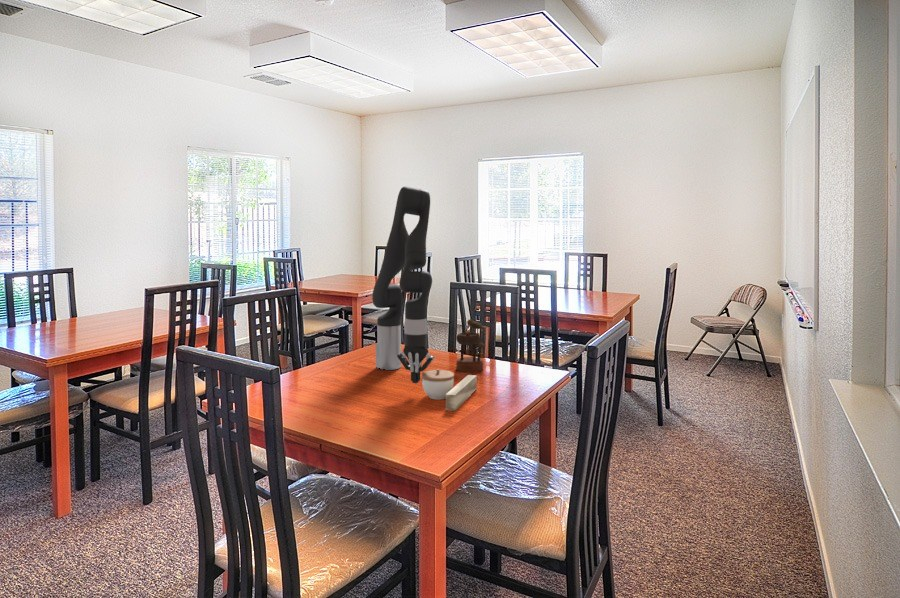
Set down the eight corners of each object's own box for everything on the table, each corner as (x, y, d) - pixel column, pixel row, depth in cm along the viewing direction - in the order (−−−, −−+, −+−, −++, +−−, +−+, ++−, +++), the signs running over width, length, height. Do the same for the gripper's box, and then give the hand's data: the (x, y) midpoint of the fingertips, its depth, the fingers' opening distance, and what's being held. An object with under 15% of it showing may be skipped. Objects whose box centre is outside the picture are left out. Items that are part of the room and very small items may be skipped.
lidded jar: (421, 392, 196) (421, 365, 194) (452, 391, 196) (452, 364, 195) (422, 402, 185) (422, 373, 184) (455, 401, 186) (455, 373, 185)
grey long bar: (445, 410, 177) (445, 394, 177) (468, 388, 200) (468, 374, 199) (455, 411, 176) (455, 395, 176) (476, 389, 199) (476, 375, 198)
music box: (487, 365, 232) (487, 317, 228) (487, 375, 221) (487, 324, 217) (449, 364, 233) (449, 316, 229) (447, 374, 222) (447, 324, 218)
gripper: (392, 332, 189) (392, 383, 191) (430, 335, 184) (430, 387, 187) (401, 328, 196) (401, 377, 198) (438, 331, 191) (438, 381, 194)
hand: (415, 382), depth 192 cm, fingers closed
